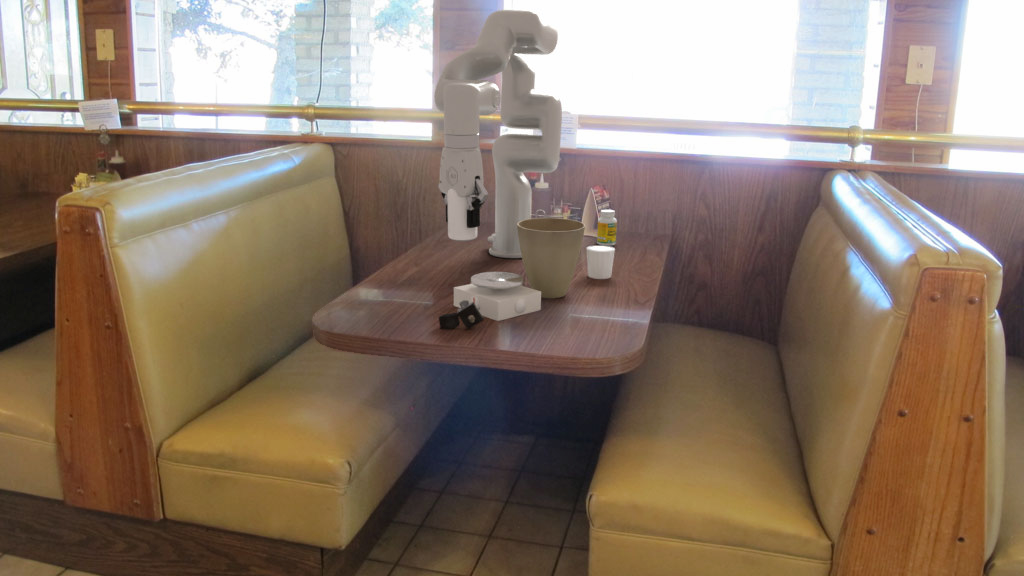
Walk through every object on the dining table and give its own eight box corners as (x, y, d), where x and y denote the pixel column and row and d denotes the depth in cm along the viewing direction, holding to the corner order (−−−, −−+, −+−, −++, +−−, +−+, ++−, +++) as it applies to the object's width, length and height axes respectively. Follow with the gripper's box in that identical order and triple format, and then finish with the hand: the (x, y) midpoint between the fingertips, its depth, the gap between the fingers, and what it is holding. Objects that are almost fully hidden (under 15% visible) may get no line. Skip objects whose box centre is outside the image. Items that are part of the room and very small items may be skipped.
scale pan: (460, 285, 176) (460, 277, 176) (499, 277, 183) (499, 269, 183) (495, 296, 168) (495, 288, 168) (534, 287, 176) (534, 279, 175)
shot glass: (612, 280, 200) (613, 251, 199) (583, 278, 202) (584, 250, 200) (614, 273, 207) (616, 245, 205) (587, 271, 208) (588, 244, 206)
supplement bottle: (605, 241, 243) (606, 208, 241) (619, 244, 240) (621, 210, 237) (593, 243, 240) (594, 210, 237) (607, 246, 236) (609, 213, 233)
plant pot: (503, 290, 191) (504, 220, 186) (558, 282, 198) (560, 215, 194) (538, 307, 178) (540, 233, 174) (595, 298, 185) (598, 227, 181)
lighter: (448, 341, 163) (434, 320, 162) (449, 338, 165) (435, 316, 164) (483, 321, 162) (468, 299, 160) (484, 318, 164) (469, 296, 162)
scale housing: (452, 306, 178) (452, 287, 177) (496, 295, 186) (496, 278, 185) (497, 321, 168) (497, 302, 167) (541, 310, 176) (542, 291, 175)
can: (447, 234, 189) (447, 181, 185) (476, 234, 189) (476, 181, 186) (448, 241, 182) (447, 186, 179) (478, 241, 183) (477, 186, 179)
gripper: (423, 139, 183) (425, 220, 188) (474, 147, 171) (475, 233, 176) (450, 137, 188) (451, 215, 193) (502, 144, 176) (501, 228, 181)
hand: (462, 223), depth 185 cm, fingers closed on can, 6 cm apart
